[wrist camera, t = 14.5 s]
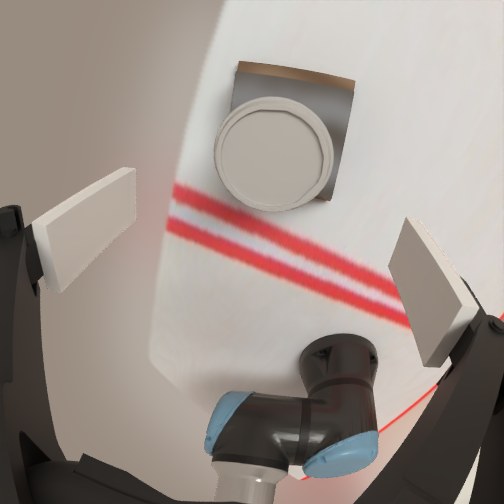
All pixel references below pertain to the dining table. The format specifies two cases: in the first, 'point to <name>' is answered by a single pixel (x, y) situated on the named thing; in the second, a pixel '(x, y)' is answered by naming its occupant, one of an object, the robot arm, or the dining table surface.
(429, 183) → the dining table surface
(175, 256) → the dining table surface
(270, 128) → the disposable coffee cup
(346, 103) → the grey block on wood
